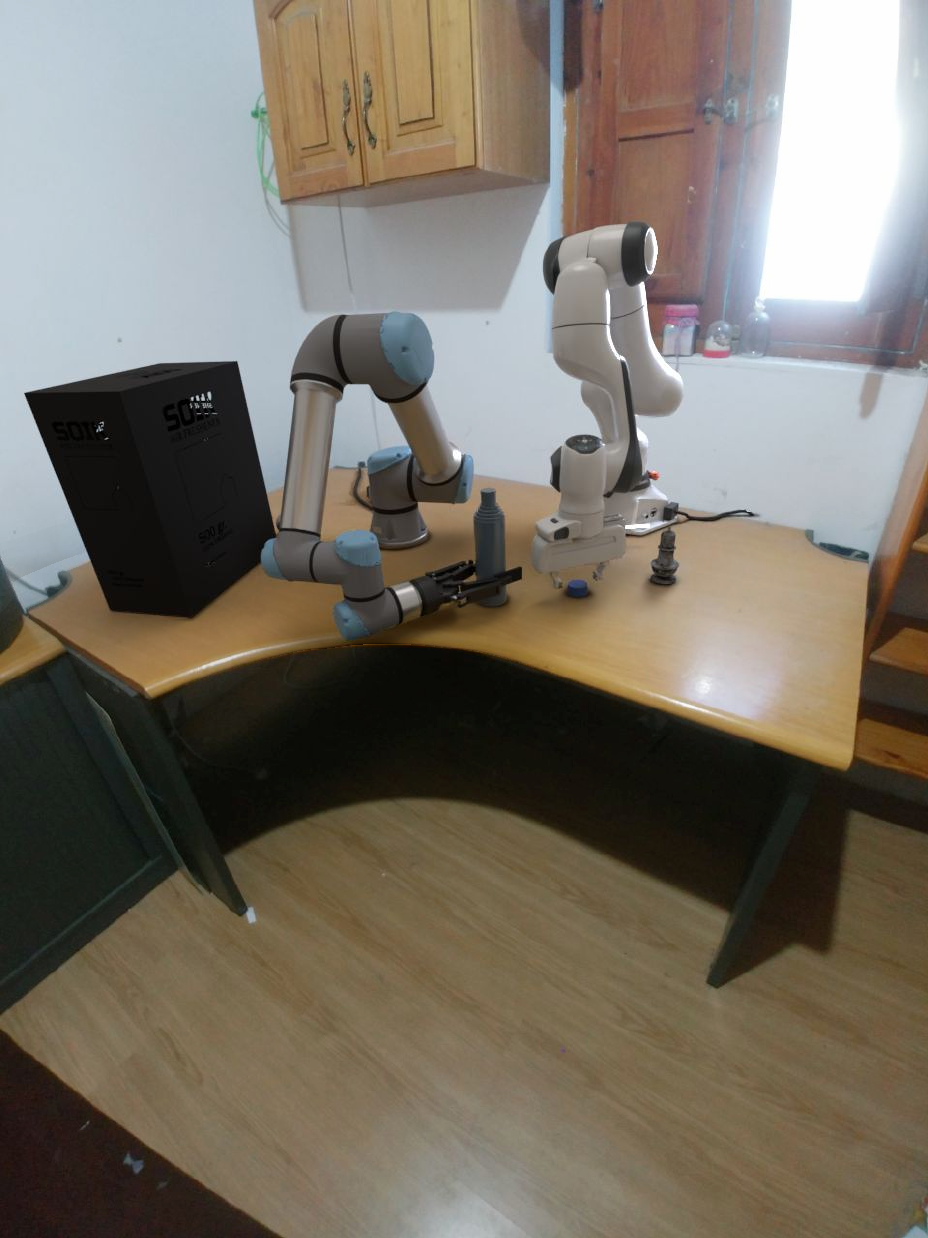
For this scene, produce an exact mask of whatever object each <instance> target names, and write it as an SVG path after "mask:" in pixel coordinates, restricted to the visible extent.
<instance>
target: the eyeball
mask: <svg viewBox="0 0 928 1238" xmlns="http://www.w3.org/2000/svg"><path fill="white" fill-rule="evenodd" d="M280 518H281V513H280V514H279V515H278V516H277V517H276V520H275V527H276V529H277V530H278V531H279V527H280Z"/></svg>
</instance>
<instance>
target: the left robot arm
mask: <svg viewBox="0 0 928 1238" xmlns="http://www.w3.org/2000/svg"><path fill="white" fill-rule="evenodd" d="M434 369H435V351H434V349H433V340H432V335H431V333H430V330H429V328H428V327H427V325H426V323H425V321H424V320H423V319H422V318H421V317H420V316H419V315H417V314H415V313H411V312H402V311H401V312H400V311H397V310H396V311H390V312H377V313H376V312H375V313H357V314H356V313H355V314H345V313H344V314H334V315H332V316H329V317H326V318H324V319H323V320H321V321H320V322H319V323H318V324H316V325H315V326H314V327H313V328H312V329H311V330H310V332H309V333H308V334H307V335H306V337H305V339H304V340H303V341H302V343H301V346H300V347H299V349H298V351H297V353H296V356H295V358H294V362H293V365H292V369H291V373H290V381H289V390H290V391H291V393H292V394H293V396H294V397H293V406H292V412H291V413H292V414H291V421H290V422H291V423H290V432H289V441H288V448H287V459H286V467H285V476H284V483H283V492H282V502H281V511H280V514H281V518H280V527H279V530H278V535H277V538H275V539H270V540H268V541H267V542H266V543H265V545H264V549H262V552H261V561H260V564H261V568H262V570H263V572H264V573H265V575H267V576H268V577H269V578H271V579H273V580H281V581H287V582H292V583H293V582H302V583H315V584H323V585H325V584H326V585H336V586H341V588H342V594H343V600H340V601H338V602H337V603H335V604H334V605H333V606H332V607H333V608H332V610H333V611H332V616H333V620H334V624H335V626H336V628H337V631H338V633H339V634H340V636H341V637H342V638H343V639H344V640H346V641H349V642H350V641H355V640H359V639H362V638H366V637H370V636H373V635H375V634H378V633H380V632H382V631H385V630H387V629H391V628H393V627H397V626H400V625H404V624H406V623H408V622H411V621H414V620H417V619H419V618H420V617H422V618H424V617H427V616H429V615H432V614H434V613H437V612H438V611H439V610H440V608H441V606H442V605H445V604H451V603H454V604H456V607H457V608H458V609H462V608H464V607H466V606H468V605H470V604H473V603H478V602H477V601H481V600H484V599H487V598H491V597H494V596H497V595H500V594H501V587H502V586H505V585H506V586H508V585H510V584H514V583H516V582H518V581H521V580H523V567H522V566H520V565H519V566H516V567H513V568H510V569H506V571H504V572H501V573H498V574H495V575H494V578H488V579H481V580H476V579H475V580H470V581H467V580H468V579H469V578H471V577H473V576H476V568H475V563H474V559H468V560H467V561H466V560H461V561H458V562H455V563H453V564H450V565H446V566H444V567H441V568H439V569H437V570H433V571H427V572H425V573H424V575H421V576H418V577H415V578H412V579H410V580H409V581H408V580H405V581H402V582H399V583H396V584H393V585H390V586H387V587H385V580H384V579H385V577H384V570H383V563H382V562H383V558H382V554H381V549H384V550H401V549H409V548H412V547H416V546H418V545H420V544H423V543H424V542H425V541H426V540H428V536H429V531H428V527H427V524H426V522H425V520H424V518H423V515H422V513H421V511H420V508H419V503H430V504H431V503H432V504H433V503H434V504H450V505H455V504H456V505H457V504H458V505H459V504H466V503H467V502H468V501H469V499H470V497H471V494H472V490H473V485H474V484H473V483H474V474H475V463H474V458H473V456H472V455H471V454H467V453H464V454H462V453H461V451H460V449H459V448H458V446H457V445H456V444H455V443H454V442H452V441H449V438H448V435H447V433H446V430H445V427H444V425H443V422H442V419H441V417H440V414H439V413H438V409H437V407H436V405H435V402H434V399H433V396H432V395H431V391H430V389H429V387H428V384H429V381H430V379H431V377H432V376H433V373H434ZM348 385H368V386H369V387H370V389H371V391H372V393H373V395H374V396H375V398H376V399H378V400H379V401H380V402H383V403H385V404H387V405H388V408H389V409H390V411H391V413H392V415H393V417H394V419H395V421H396V423H397V425H398V427H399V430H400V432H401V433H402V435H403V437H404V439H405V442H406V444H407V445H396V446H391V447H386V448H383V449H380V450H377V451H375V452H373V453H371V454H370V455H369V456H368V457H367V461H366V465H367V477H368V484H369V485H370V492H371V499H372V501H371V504H369V503H367V502H366V501H364V500H363V499H361V497H360V496H359V494H358V492H357V491H358V485H359V482H360V479H361V476H362V468H361V467H359V468H358V471H357V472H358V474H357V478H356V479H355V483H354V486H353V494H354V497H355V498H356V500H357V501H358V502H360V503H361V504H363V506H365V507H367V508H369V509H370V510H372V517H371V522H370V527H369V530H366V529H355V530H347V531H344V532H341V533H340V534H338V535H337V536H336V537H335V539H334V541H321V538H322V527H323V519H324V512H325V503H326V495H327V486H328V478H329V477H328V476H329V469H330V463H331V462H330V460H331V452H332V444H333V443H332V442H333V436H334V435H333V434H334V429H335V428H334V427H335V418H336V409H337V404H339V403H340V402H341V401H343V399H344V392H345V391H344V390H345V388H346V386H348ZM369 485H368V486H369ZM371 499H370V500H371Z"/></svg>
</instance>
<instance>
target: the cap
mask: <svg viewBox="0 0 928 1238" xmlns="http://www.w3.org/2000/svg"><path fill="white" fill-rule="evenodd" d="M588 585H589V583H588V582H587V581H585V580H584V579H572V580H570V581H568V583H567V594H568V595H569V596H571V597H574V598H575V597H576V598H582V597H584V596H586V595H588V591H589V590H588V589H589V586H588Z"/></svg>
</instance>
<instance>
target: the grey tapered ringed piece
mask: <svg viewBox="0 0 928 1238" xmlns="http://www.w3.org/2000/svg"><path fill="white" fill-rule="evenodd" d="M676 536H677V535H676V532H675V531H674V530H672V527H671V526H667V529H666V530H663V531H662V532H661V535H660V542H659V543H660V544H658V545H657V548H658V555H657V558H653V559H652V560H651V561H650V566H651V570H652V572H653V573H652V574H651V575H650V577H649V579H650V580H651V581H652V582H653V583H655V584H660V585H671V584H674V583H675V582H676V580H677V578H676V576H674V575H675V573H676V572H677V570H678V569H679V567H680V563H679V562H678V561H677V560H676V559H674V554H675V551H676V549H677V547H676V546H675V543H676Z"/></svg>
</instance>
